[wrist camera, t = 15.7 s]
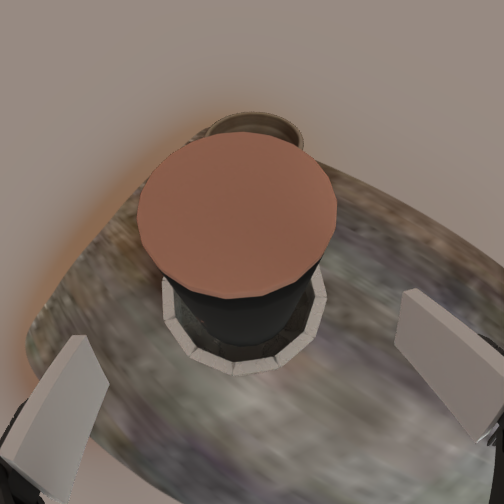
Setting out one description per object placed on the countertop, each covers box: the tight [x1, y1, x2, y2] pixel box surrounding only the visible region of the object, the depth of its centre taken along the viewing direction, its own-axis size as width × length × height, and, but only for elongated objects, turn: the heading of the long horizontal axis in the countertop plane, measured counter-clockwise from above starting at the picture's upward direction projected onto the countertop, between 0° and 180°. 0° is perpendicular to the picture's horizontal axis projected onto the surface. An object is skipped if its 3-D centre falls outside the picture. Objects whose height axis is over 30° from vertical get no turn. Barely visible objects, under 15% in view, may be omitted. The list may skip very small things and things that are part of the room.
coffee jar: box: [137, 132, 337, 347], centre depth 22 cm, size 11×11×18 cm
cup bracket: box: [162, 264, 327, 376], centre depth 29 cm, size 16×16×4 cm
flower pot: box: [204, 112, 304, 151], centre depth 33 cm, size 12×11×10 cm
